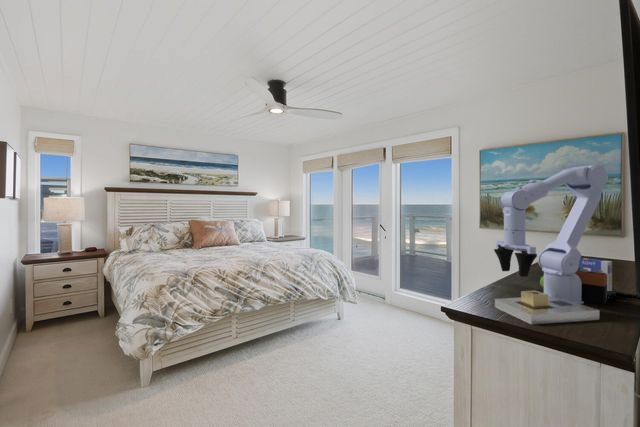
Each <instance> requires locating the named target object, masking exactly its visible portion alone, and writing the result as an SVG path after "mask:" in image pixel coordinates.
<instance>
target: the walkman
mask: <svg viewBox="0 0 640 427" xmlns="http://www.w3.org/2000/svg"><path fill="white" fill-rule="evenodd" d="M581 269H588V271H592V272H595V271H594V270H602V271H603V272H601V273H606V274H607V291H613V261H612V260H604V259H603V260H602V259H595V258H594V259H593V258H587V257H586V258H585V257H583V258H582V257H581V258H580V261H579V271H580V270H581Z"/></svg>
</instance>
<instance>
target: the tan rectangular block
mask: <svg viewBox="0 0 640 427" xmlns="http://www.w3.org/2000/svg"><path fill="white" fill-rule="evenodd" d="M520 297H521V305H523V306H525V307H528V308H530V309H532V310H536V309H548V294H545V293H544V292H543V291H538V290H536V289H535V290H521V291H520Z"/></svg>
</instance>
